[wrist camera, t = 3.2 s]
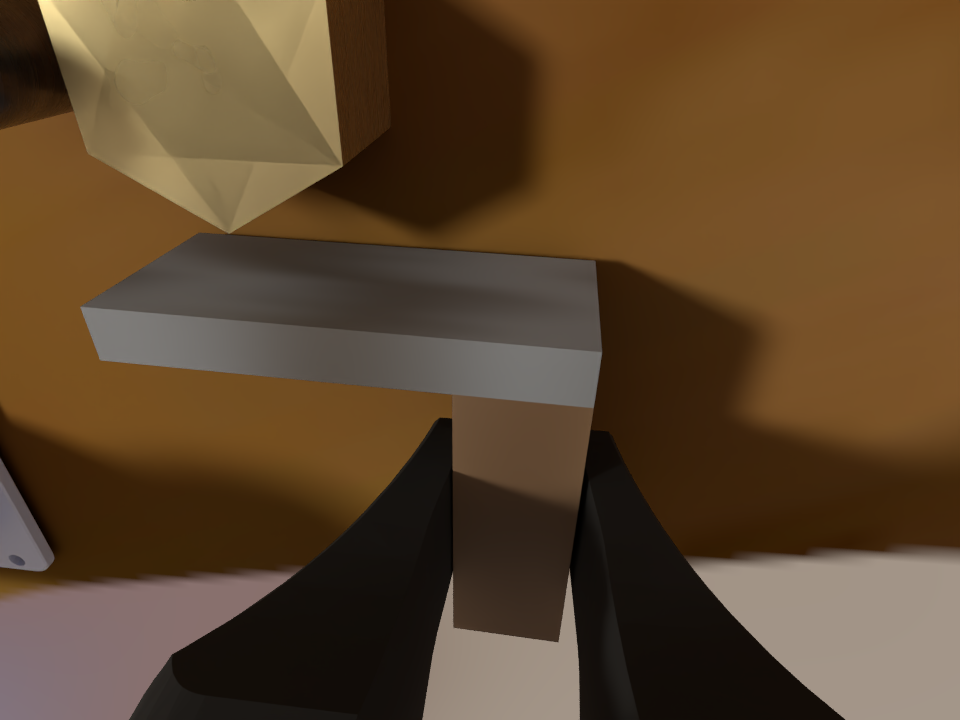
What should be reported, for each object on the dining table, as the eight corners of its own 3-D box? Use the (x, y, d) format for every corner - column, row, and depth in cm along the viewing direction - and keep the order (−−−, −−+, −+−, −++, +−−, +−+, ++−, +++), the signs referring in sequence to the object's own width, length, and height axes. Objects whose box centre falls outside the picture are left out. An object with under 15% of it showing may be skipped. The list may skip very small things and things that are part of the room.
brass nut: (256, 207, 12) (179, 262, 10) (115, 13, 11) (-22, 20, 8) (443, 95, 11) (407, 128, 8) (312, -154, 9) (217, -209, 7)
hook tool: (258, 480, 16) (186, 590, 13) (199, 232, 12) (80, 306, 9) (561, 516, 15) (558, 641, 12) (595, 260, 11) (602, 352, 8)
